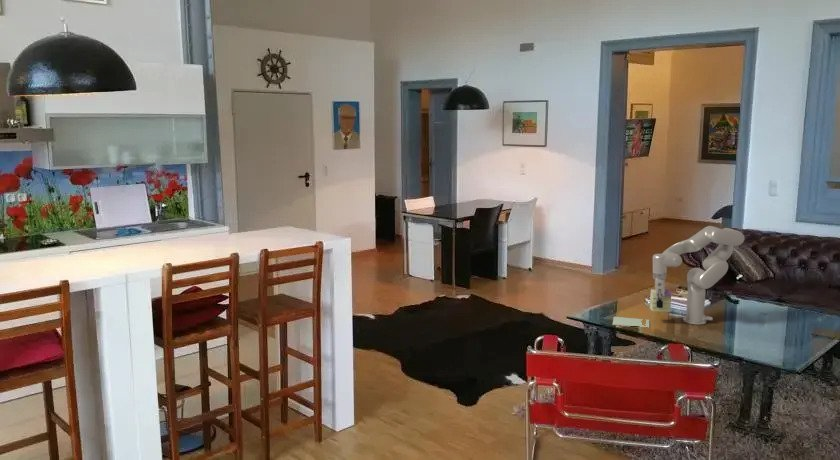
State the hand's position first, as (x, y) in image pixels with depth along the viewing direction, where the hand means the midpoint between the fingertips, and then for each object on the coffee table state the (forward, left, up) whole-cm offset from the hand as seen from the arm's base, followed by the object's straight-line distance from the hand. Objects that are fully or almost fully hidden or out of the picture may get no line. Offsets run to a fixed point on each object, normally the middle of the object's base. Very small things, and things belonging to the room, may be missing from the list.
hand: (659, 305), depth 386 cm
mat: (+15, +4, -11) cm, 19 cm away
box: (0, 0, -3) cm, 3 cm away
